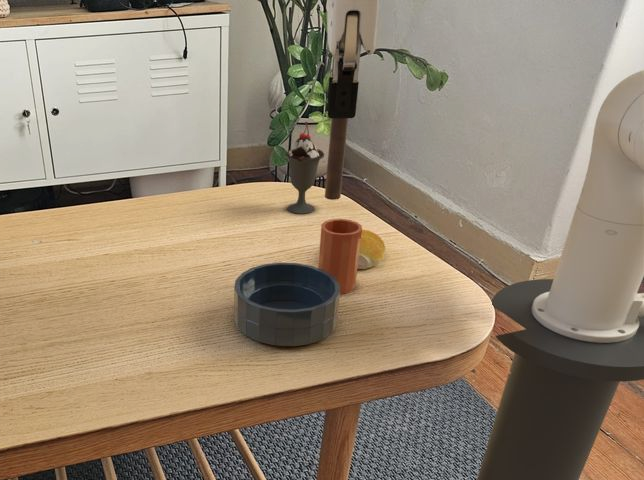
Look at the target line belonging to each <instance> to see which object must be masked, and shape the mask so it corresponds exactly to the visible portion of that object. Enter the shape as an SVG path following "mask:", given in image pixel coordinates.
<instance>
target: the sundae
mask: <svg viewBox="0 0 644 480" xmlns="http://www.w3.org/2000/svg"><path fill="white" fill-rule="evenodd" d="M304 124H305V129H304V130H303V133H299V138H298V139H296V140H295V141H294V143H293V145H292V148H291V149H289V150H287V151H286V152H285V154H284V156H285V157H287V159H288V165H289V176H290V183H291V185H292V186H293V187H294V189H296V190H297V191H298V196H297V201H296V203H292V204H289V205H288V206H287V207H286V209H287V211H288V212H290V213H292V214H296V215H307V214H311V213H313V212H314V211H315V210H316V208H315V205H312V204H310V203H307V201H306V192H307V191H308V190H309V189H311V188H312V187H313V186H314V184H315V181H316V177H317V173H318V168H319V163H320V160H321V159H323V158H324V157H325V153H324V152H323V150H321V149H320V148H317V146H316V144H315V143H314V142H313V140H311V138H312V137H311V135H310V133H309V127H308V121H305V122H304ZM306 131H307V134H306Z"/></svg>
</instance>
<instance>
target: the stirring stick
mask: <svg viewBox="0 0 644 480" xmlns="http://www.w3.org/2000/svg"><path fill="white" fill-rule="evenodd" d="M348 124H349V118H330V128H329V129H330V130H329V142H328V152H327V165H326V176H325V177H326V178H325V188H324V189H325V190H324V198H325V199H327V200H330V201H335V200H339V199H341V197H342V196H341V195H342V186H343V174H344V166H345V165H344V164H345V155H346V145H347V144H346V143H347V133H348Z"/></svg>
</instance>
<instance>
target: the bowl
mask: <svg viewBox="0 0 644 480" xmlns="http://www.w3.org/2000/svg"><path fill="white" fill-rule="evenodd" d="M340 298H341V294H340V285H339V283H338V281H337V280H336V279H335V278H334V276H332V275H331V274H329V273H328V272H326V271H324V270H322V269H319V268H318V267H316V266H313V265H309V264H304V263H300V262H299V263H298V262H272V263H263V264H260V265H256V266H252V267H250V268H248V269H247V270H245V271H243V272H242V273H240V274H239V276H237V278H236V279H235V281H234V286H233V321H234V323H235V325H236V328H237V329H238V330H239V331H240V332H241V333H243V335H244V336H246V337H248V338H249V339H253V340H254V341H257V342H258V343H263V344H266V345H271V346H282V347H297V346H306V345H310V344H313V343H316V342H320V341H322V340H324V339H325V338H327V337H328V336H329V335H331V334H332V333H333V332H334V330H335V328H336V326H337V324H338V317H339V316H338V315H339V305H340Z"/></svg>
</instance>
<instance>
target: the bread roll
mask: <svg viewBox="0 0 644 480" xmlns="http://www.w3.org/2000/svg"><path fill="white" fill-rule="evenodd" d="M385 252H386V244H385V242H384V240H383V239H382V238H381V237H380V236H379V235H378V234H377V233H375V232H373V231H371V230H368V229H362V235H361V243H360V251H359V259H358V267H357V270H366V269H370V268H373V267H376V266H377V265H379V263H380V262H381V261H382V260H383V258H384V254H385Z"/></svg>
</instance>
